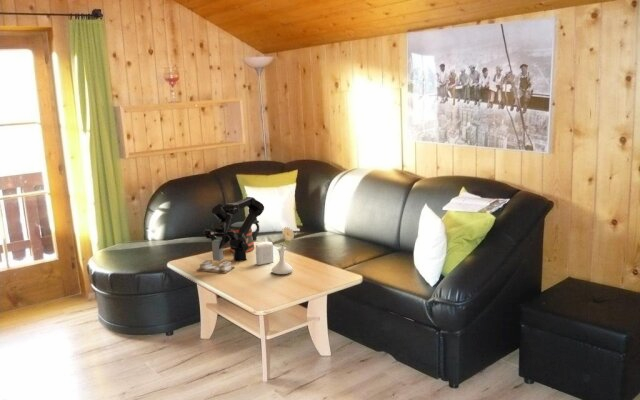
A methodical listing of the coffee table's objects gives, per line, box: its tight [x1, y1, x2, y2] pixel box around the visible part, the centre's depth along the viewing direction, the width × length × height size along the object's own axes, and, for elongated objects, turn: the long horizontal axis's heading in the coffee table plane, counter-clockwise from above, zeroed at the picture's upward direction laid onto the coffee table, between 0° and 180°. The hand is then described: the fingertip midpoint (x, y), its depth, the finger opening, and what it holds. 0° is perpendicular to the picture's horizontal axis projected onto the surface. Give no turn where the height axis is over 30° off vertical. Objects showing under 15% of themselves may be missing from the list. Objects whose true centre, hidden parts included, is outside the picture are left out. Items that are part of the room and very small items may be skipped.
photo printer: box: [255, 241, 274, 266], centre depth 336 cm, size 10×4×12 cm, turn 123°
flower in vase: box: [271, 226, 295, 275], centre depth 318 cm, size 13×11×25 cm
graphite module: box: [211, 238, 224, 262], centre depth 323 cm, size 4×4×11 cm
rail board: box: [196, 259, 235, 275], centre depth 328 cm, size 18×10×4 cm, turn 70°
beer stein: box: [229, 217, 260, 253], centre depth 364 cm, size 19×15×20 cm
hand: (216, 248), depth 321 cm, fingers closed on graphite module, 4 cm apart
